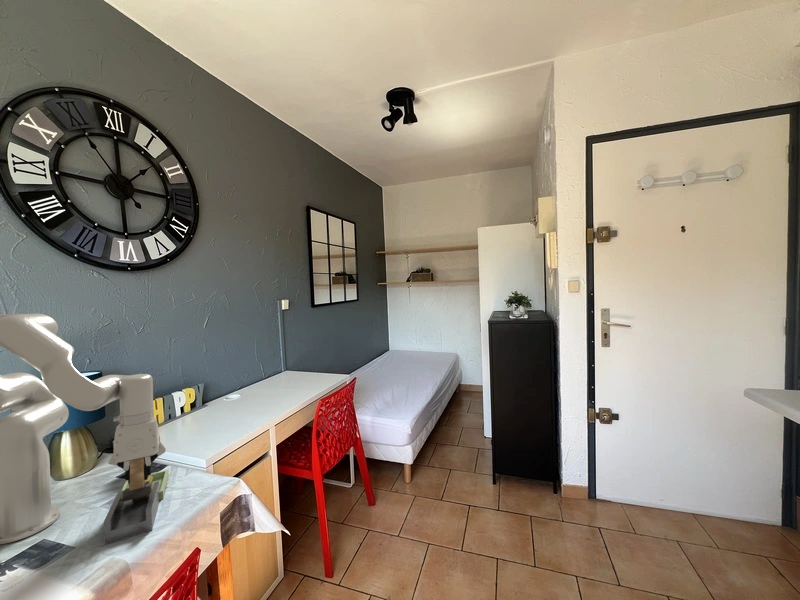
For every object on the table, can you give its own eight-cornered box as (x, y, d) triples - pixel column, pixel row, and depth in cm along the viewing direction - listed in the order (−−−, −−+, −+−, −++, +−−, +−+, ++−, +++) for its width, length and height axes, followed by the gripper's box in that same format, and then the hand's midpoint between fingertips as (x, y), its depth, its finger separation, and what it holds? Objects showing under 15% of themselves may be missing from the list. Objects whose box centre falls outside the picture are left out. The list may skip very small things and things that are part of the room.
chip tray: (115, 512, 91) (115, 503, 91) (127, 486, 103) (126, 479, 103) (163, 499, 97) (163, 490, 97) (168, 476, 109) (168, 469, 109)
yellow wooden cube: (132, 499, 92) (131, 484, 92) (135, 492, 95) (135, 479, 96) (149, 494, 94) (149, 480, 94) (151, 488, 97) (151, 475, 98)
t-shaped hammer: (122, 501, 88) (123, 462, 90) (125, 498, 91) (126, 459, 93) (149, 494, 91) (149, 456, 93) (151, 491, 94) (151, 454, 96)
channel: (104, 544, 79) (103, 521, 79) (118, 512, 91) (118, 491, 91) (152, 530, 84) (151, 507, 84) (159, 500, 96) (159, 481, 96)
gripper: (95, 428, 86) (97, 495, 86) (169, 416, 94) (171, 477, 94) (104, 419, 92) (105, 481, 92) (172, 408, 100) (174, 466, 101)
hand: (138, 479), depth 93 cm, fingers closed on t-shaped hammer, 3 cm apart
